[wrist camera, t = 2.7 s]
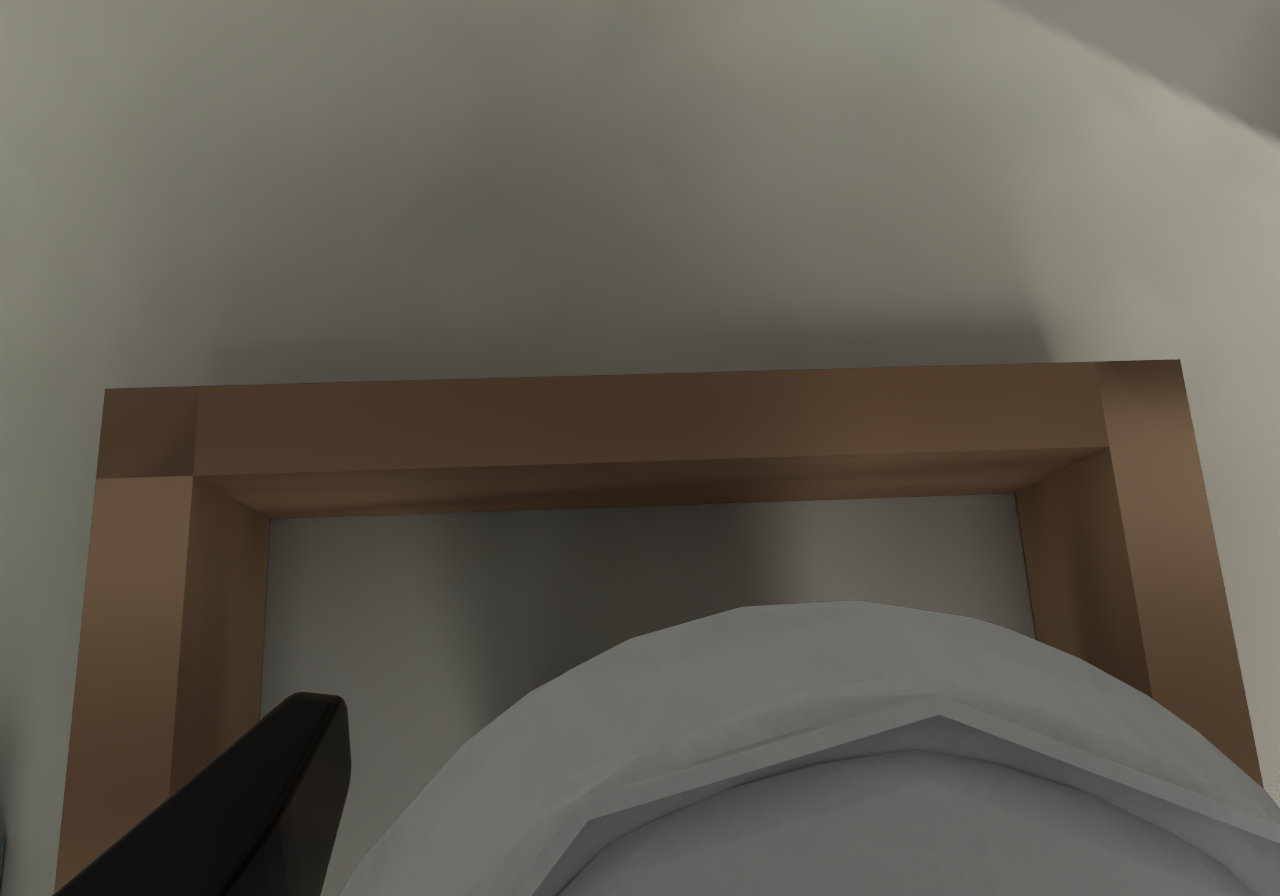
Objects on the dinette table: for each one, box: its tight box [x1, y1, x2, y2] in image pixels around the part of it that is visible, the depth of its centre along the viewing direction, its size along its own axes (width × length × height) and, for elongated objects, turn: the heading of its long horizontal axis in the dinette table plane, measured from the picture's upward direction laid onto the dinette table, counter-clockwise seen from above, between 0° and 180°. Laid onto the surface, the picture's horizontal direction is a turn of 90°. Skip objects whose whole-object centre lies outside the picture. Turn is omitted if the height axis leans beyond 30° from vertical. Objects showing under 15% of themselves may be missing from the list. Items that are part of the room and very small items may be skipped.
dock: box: [54, 359, 1264, 893], centre depth 13 cm, size 11×14×3 cm
